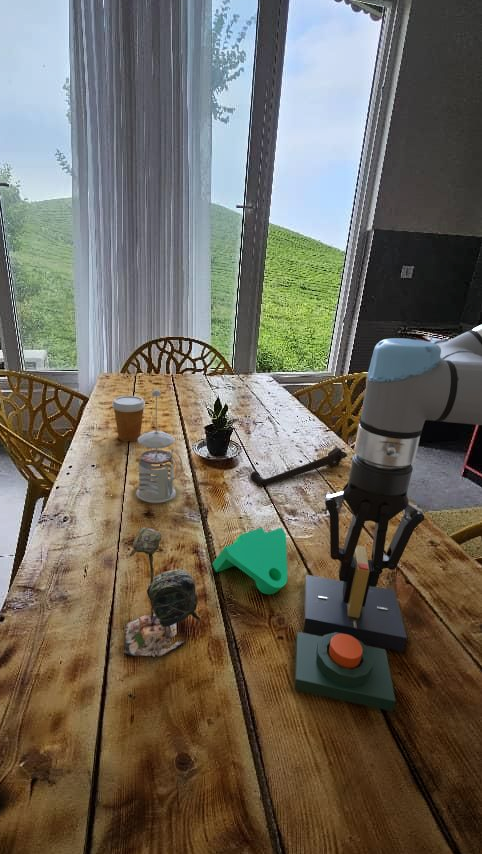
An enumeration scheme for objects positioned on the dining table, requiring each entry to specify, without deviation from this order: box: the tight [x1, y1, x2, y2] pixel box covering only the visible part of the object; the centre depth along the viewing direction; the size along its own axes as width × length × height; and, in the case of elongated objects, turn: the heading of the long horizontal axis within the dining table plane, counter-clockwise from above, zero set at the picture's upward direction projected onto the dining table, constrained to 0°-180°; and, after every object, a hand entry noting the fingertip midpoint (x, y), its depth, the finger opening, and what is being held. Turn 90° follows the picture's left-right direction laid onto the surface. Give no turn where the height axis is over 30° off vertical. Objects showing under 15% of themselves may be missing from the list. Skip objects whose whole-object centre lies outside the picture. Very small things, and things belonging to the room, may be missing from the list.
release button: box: [329, 634, 363, 668], centre depth 58 cm, size 4×4×2 cm
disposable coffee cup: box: [111, 395, 146, 442], centre depth 131 cm, size 10×10×12 cm
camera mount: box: [211, 527, 288, 595], centre depth 76 cm, size 12×8×10 cm
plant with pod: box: [123, 526, 202, 658], centre depth 60 cm, size 8×11×20 cm
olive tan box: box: [347, 544, 370, 618], centre depth 66 cm, size 6×2×9 cm, turn 166°
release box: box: [293, 631, 397, 712], centre depth 59 cm, size 12×8×4 cm, turn 77°
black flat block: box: [302, 574, 408, 653], centre depth 68 cm, size 14×10×3 cm
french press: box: [135, 389, 183, 504], centre depth 97 cm, size 10×12×25 cm
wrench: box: [250, 446, 348, 486], centre depth 116 cm, size 5×5×30 cm
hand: (353, 598), depth 68 cm, fingers closed on olive tan box, 2 cm apart
